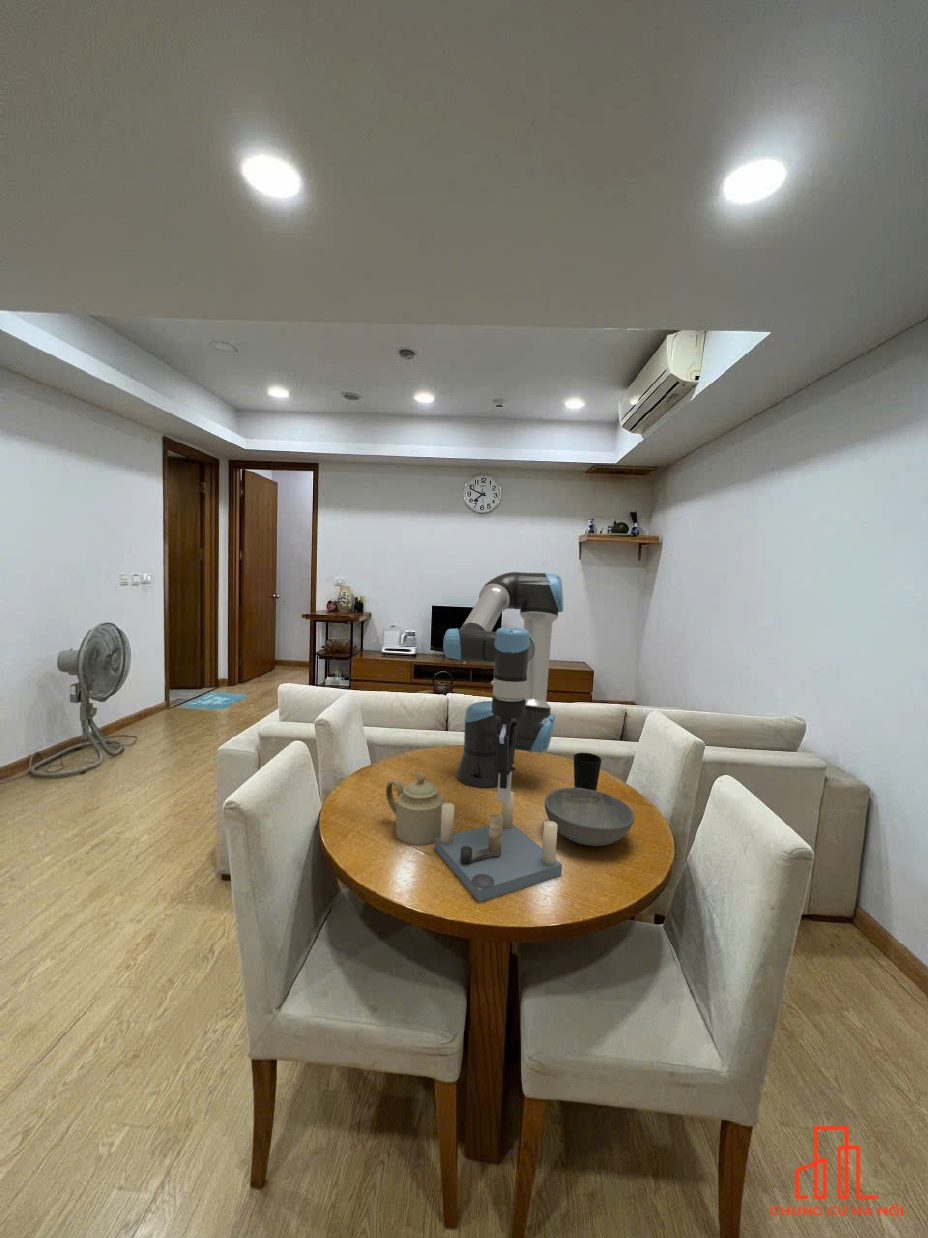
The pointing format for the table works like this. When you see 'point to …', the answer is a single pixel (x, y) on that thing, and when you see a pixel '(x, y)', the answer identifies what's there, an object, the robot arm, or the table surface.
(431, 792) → the teapot
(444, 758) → the table surface
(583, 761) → the cup
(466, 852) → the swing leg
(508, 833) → the stool seat
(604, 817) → the bowl
